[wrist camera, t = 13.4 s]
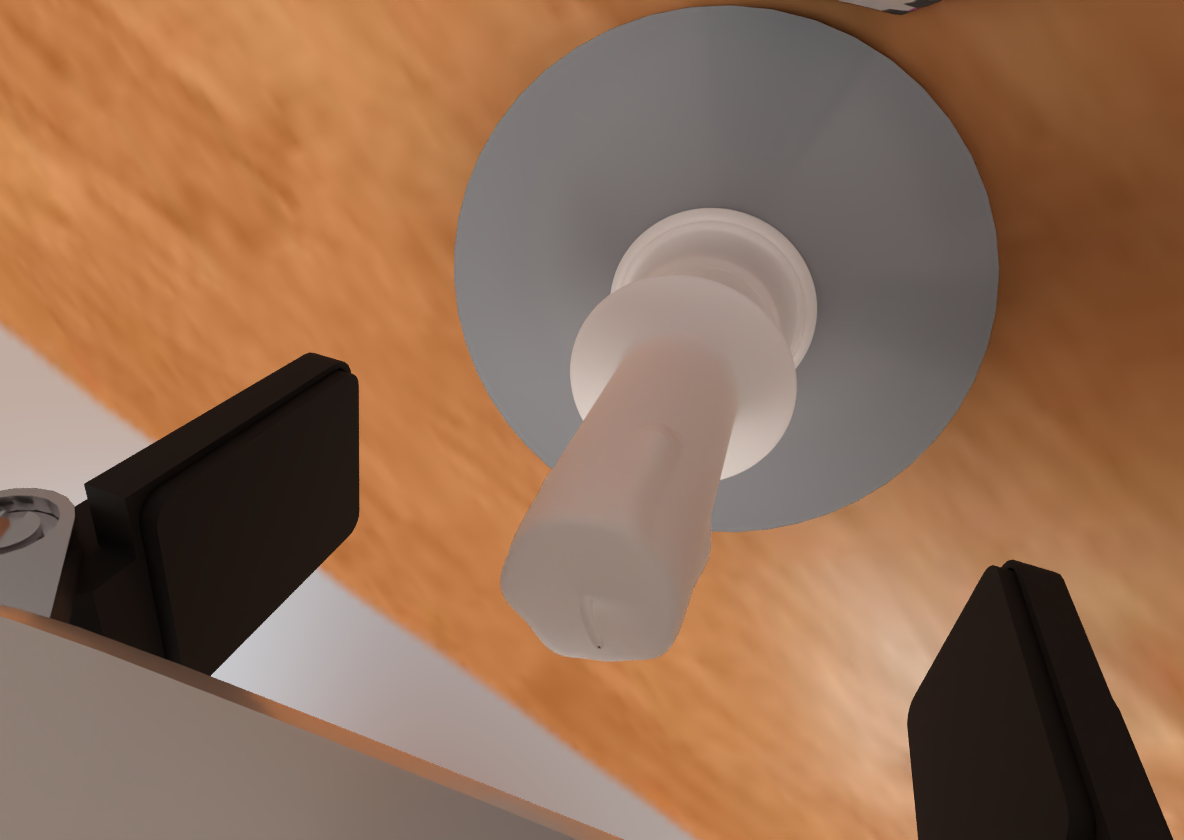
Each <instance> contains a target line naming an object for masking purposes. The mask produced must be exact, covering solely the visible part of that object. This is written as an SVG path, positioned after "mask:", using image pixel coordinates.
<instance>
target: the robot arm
mask: <svg viewBox="0 0 1184 840" xmlns="http://www.w3.org/2000/svg"><path fill="white" fill-rule="evenodd" d="M84 485H85V490H86V494H87V498H88V499H87V500H85V501H83V502H82V503H80V504H79V505H77V506H75V507H74V505H73V504H72V503H71V502H70V500H69V499H68V498H67V497H66V496H63V495H61V494H59V493H57V492H55V491H50V490H44V489H38V488H14V489H8V490H2V491H0V840H623V839H621V838H618V837H616V836H613V835H611V834H608V833H606V832H603V831H601V830H598V829H596V828H593V827H591V826H588V825H586V824H583V823H581V822H578V821H576V820H573V819H571V818H568V817H566V816H563V815H561V814H558V813H555V812H553V811H551V810H548V809H545V808H543V807H541V806H538V805H536V804H533V803H530V802H528V801H525V800H523V799H521V798H518V797H516V796H513V795H511V794H508V793H505V792H503V791H501V790H498V789H496V788H493V787H490V786H488V785H485V784H483V783H480V782H478V781H475V780H473V779H470V778H468V777H465V776H463V775H460V774H457V773H455V772H453V771H450V770H448V769H445V768H443V767H440V766H438V765H435V764H433V763H430V762H427V761H425V760H422V759H420V758H417V757H415V756H412V755H410V754H407V753H405V752H402V751H399V750H397V749H395V748H392V747H390V746H387V745H385V744H382V743H379V742H377V741H374V740H372V739H369V738H367V737H364V736H362V735H359V734H357V733H354V732H352V731H349V730H346V729H344V728H341V727H339V726H336V725H334V724H331V723H329V722H326V721H323V720H321V719H318V718H316V717H313V716H310V715H308V714H306V713H303V712H300V711H298V710H295V709H292V708H290V707H288V706H285V705H282V704H280V703H277V702H274V701H272V700H270V699H267V698H265V697H262V696H259V695H257V694H254V693H252V692H249V691H246V690H244V689H242V688H239V687H236V686H234V685H231V684H229V683H226V682H224V681H221V680H218V679H216V678H213V677H211V675H212V674H213V673H214V672H215V671H216V670H217V669H218V668H219V667H220V666H221V665H222V664H223V663H224V662H225V661H226V660H227V659H228V658H229V657H230V656H231V654H233V653H234V651H235V650H236V649H237V648H238V647H239V646H240V645H241V644H242V643H243V642H244V641H245V640H246V639H247V638H248V637H249V636H250V635H251V634H252V633H253V632H254V631H255V630H256V629H257V628H258V627H259V626H260V625H261V624H262V623H263V622H264V621H265V620H266V619H267V618H268V617H269V616H270V615H271V614H272V613H273V612H274V611H275V610H276V609H277V608H278V607H279V606H280V605H281V604H282V603H283V602H284V601H285V600H286V599H287V598H288V597H289V596H290V595H291V594H292V593H293V592H294V591H295V590H296V589H297V588H298V587H299V586H300V585H301V584H302V583H303V582H304V581H305V580H306V579H307V578H308V577H309V576H310V575H311V574H312V573H313V572H314V571H315V570H316V569H317V568H318V567H319V566H320V565H321V564H322V563H323V562H324V561H325V560H326V559H327V558H328V557H329V556H330V555H331V554H332V553H333V552H334V551H335V550H336V549H337V548H338V547H339V546H340V545H341V544H342V542H343V541H344V540H345V539H346V538H347V537H348V536H349V535H350V534H351V533H352V532H353V530H354V528H355V526H356V524H357V521H358V517H359V384H358V379H357V377H356V376H355V375H354V374H351V370H350V368H349V366H348V364H346V363H345V362H343V361H339V360H336V359H333V358H329V357H326V356H322V355H319V354H316V353H307V354H304V355H303V356H301V357H299V358H298V359H296V360H294V361H293V362H291V363H289V364H287V365H286V366H284V367H282V368H281V369H279V370H277V371H276V372H274V373H272V374H270V375H269V376H267V377H265V378H264V379H262V380H260V381H258V382H257V383H255V384H253V385H252V386H250V387H248V388H247V389H245V390H243V391H241V392H240V393H238V394H236V395H235V396H233V397H231V398H230V399H228V400H226V401H224V402H223V403H221V404H219V405H218V406H216V407H214V408H213V409H211V410H209V411H207V412H206V413H204V414H202V415H201V416H199V417H197V418H196V419H194V420H192V421H190V422H189V423H187V424H185V425H184V426H182V427H180V428H178V429H177V430H175V431H173V432H172V433H170V434H168V435H167V436H165V437H163V438H161V439H160V440H158V441H156V442H155V443H153V444H151V445H150V446H148V447H146V448H145V449H143V450H141V451H139V452H138V453H136V454H135V455H133V456H131V457H129V458H128V459H126V460H124V461H123V462H121V463H119V464H117V465H116V466H114V467H112V468H110V469H109V470H107V471H105V472H104V473H102V474H100V475H99V476H97V477H95V478H93V479H92V480H90V481H88V482H87V483H85V484H84ZM907 726H908V738H909V748H910V759H911V769H912V779H913V790H914V800H915V810H916V821H917V831H918V840H1173V838H1172V835H1171V833H1170V830H1169V828H1168V826H1167V823H1166V821H1165V818H1164V816H1163V814H1162V811H1161V809H1160V806H1159V804H1158V802H1157V799H1156V797H1155V794H1154V792H1153V789H1152V787H1151V785H1150V782H1149V780H1148V777H1147V775H1146V773H1145V770H1144V768H1143V765H1142V763H1141V761H1140V758H1139V756H1138V753H1137V751H1136V748H1135V746H1134V744H1133V741H1132V739H1131V736H1130V734H1129V732H1128V729H1127V727H1126V724H1125V722H1124V720H1123V717H1122V715H1121V712H1120V710H1119V708H1118V707H1117V705H1116V703H1115V702H1114V700H1113V698H1112V696H1111V694H1110V691H1109V689H1108V686H1107V684H1106V681H1105V679H1104V677H1103V674H1102V672H1101V669H1100V667H1099V664H1098V662H1097V660H1096V657H1095V655H1094V652H1093V650H1092V647H1091V645H1090V643H1089V640H1088V638H1087V635H1086V633H1085V630H1084V628H1083V625H1082V623H1081V621H1080V618H1079V616H1078V613H1077V611H1076V608H1075V606H1074V604H1073V601H1072V599H1071V596H1070V594H1069V591H1068V589H1067V587H1066V584H1065V582H1064V580H1063V578H1062V576H1061V575H1060V574H1058V573H1056V572H1053V571H1049V570H1046V569H1043V568H1039V567H1036V566H1032V565H1029V564H1026V563H1022V562H1019V561H1016V560H1009V561H1007V562H1006V563H1005V564H1004V565H1003V566H1002V567H997V566H994V565H992V566H989V567H988V568H987V569H986V571H985V572H984V573H983V575H982V577H981V579H980V581H979V582H978V584H977V586H976V588H975V589H974V591H973V593H972V595H971V597H970V598H969V600H968V602H967V604H966V605H965V607H964V609H963V611H962V612H961V614H960V616H959V618H958V620H957V621H956V623H955V625H954V627H953V628H952V630H951V632H950V634H949V636H948V637H947V639H946V641H945V643H944V644H943V646H942V648H941V650H940V652H939V653H938V655H937V657H936V659H935V660H934V662H933V664H932V666H931V668H930V669H929V671H928V673H927V675H926V676H925V678H924V680H923V682H922V683H921V685H920V687H919V689H918V691H917V692H916V694H915V696H914V698H913V700H912V702H911V705H910V708H909V713H908V721H907Z"/></svg>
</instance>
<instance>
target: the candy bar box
mask: <svg viewBox="0 0 1184 840" xmlns="http://www.w3.org/2000/svg"><path fill="white" fill-rule="evenodd" d="M839 1H843V2H847V3H852V4H856V5H860V6H864V7H868V8H872V9H876V10H880V11H884V12H888V13H892V14H898V15H901V14H906V13H908V12H911V11H914V10H916V9H919V8H922V7H926V6H929V5H932V4H934V3H937V2H940V1H942V0H839Z"/></svg>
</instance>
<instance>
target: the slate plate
mask: <svg viewBox="0 0 1184 840" xmlns="http://www.w3.org/2000/svg"><path fill="white" fill-rule="evenodd" d="M699 208H724V209H731V210H736V211H740V212H743V213H746V214H749V215H752V216H754V217H756V218H759V219H761V220H762V221H764V222H766V223H768V224H769V225H771V226H772V227H774V228H775V229H777V230H778V231H779V232H780V233H782V234H783V235H784V236H785V237H786V238H787V239H788V240H789V241H790V242H791V243H792V244H793V245H794V247H795V248H796V249H797V250H798V252H799V253H800V255H801V256H802V258H803V259H804V261H805V263H806V265H807V267H808V269H809V271H810V274H811V277H812V279H813V283H814V287H815V291H816V298H817V320H816V326H815V331H814V335H813V338H812V341H811V344H810V346H809V348H808V350H807V352H806V354H805V356H804V358H803V359H802V361H801V362H800V364H799V365H798V367H797V368H796V369H795V370H796V377H797V395H796V402H795V407H794V411H793V414H792V417H791V420H790V423H789V425H788V427H787V429H786V431H785V433H784V434H783V436H782V438H781V439H780V440H779V442H778V443H777V444H776V446H775V447H774V448H773V449H772V450H771V451H770V452H769V453H768V454H767V455H766V456H765V457H764V458H763V459H762V460H760V461H759V462H758V463H756V464H755V465H753V466H752V467H750V468H749V469H747V470H745V471H743V472H741V473H739V474H736V475H734V476H731V477H729V478H725V479H722V480H720V482H719V486H718V490H717V494H716V498H715V502H714V506H713V510H712V514H711V531H719V532H743V531H755V530H767V529H772V528H777V527H783V526H788V525H793V524H798V523H801V522H804V521H807V520H811V519H814V518H817V517H820V516H823V515H826V514H829V513H831V512H834V511H836V510H838V509H840V508H843V507H845V506H847V505H849V504H852V503H854V502H856V501H858V500H860V499H861V498H863V497H865V496H866V495H868V494H870V493H871V492H873V491H875V490H876V489H878V488H880V487H881V486H883V485H885V484H886V483H888V482H889V481H890V480H891V479H893V478H894V477H895V476H896V475H898V474H899V473H900V472H902V471H903V470H904V469H905V468H907V467H908V466H909V465H910V464H912V463H913V462H914V461H915V460H916V459H917V458H918V457H919V456H920V455H921V454H922V453H923V452H924V451H925V450H926V449H927V448H928V447H929V446H930V445H931V444H932V443H933V442H934V441H935V440H936V438H937V437H938V436H939V435H940V433H941V432H942V431H943V429H944V428H945V427H946V425H947V424H948V423H949V421H950V420H951V419H952V417H953V416H954V415H955V413H956V412H957V411H958V409H959V407H960V405H961V403H962V402H963V400H964V398H965V396H966V395H967V393H968V391H969V389H970V387H971V386H972V384H973V382H974V380H975V378H976V375H977V373H978V370H979V368H980V365H981V362H982V360H983V357H984V355H985V352H986V349H987V347H988V343H989V339H990V335H991V330H992V326H993V321H994V317H995V313H996V306H997V293H998V280H999V262H998V249H997V236H996V229H995V225H994V221H993V216H992V212H991V208H990V204H989V199H988V195H987V192H986V189H985V187H984V185H983V182H982V180H981V177H980V175H979V172H978V170H977V167H976V165H975V162H974V160H973V157H972V155H971V154H970V152H969V150H968V149H967V147H966V145H965V144H964V142H963V140H962V139H961V137H960V135H959V134H958V132H957V130H956V129H955V127H954V125H953V124H952V122H951V120H950V119H949V118H948V117H947V116H946V114H945V113H944V112H943V111H942V110H941V108H940V107H939V106H938V105H937V104H936V102H935V101H934V100H933V99H932V98H931V97H930V95H929V94H928V93H927V92H926V91H925V89H924V88H923V87H922V86H920V85H919V84H918V83H917V82H916V81H915V80H914V79H912V78H911V77H910V76H909V75H908V74H907V73H905V72H904V71H903V70H902V69H901V68H900V67H899V66H897V65H896V64H895V63H894V62H893V61H892V60H890V59H889V58H887V57H886V56H884V55H882V54H881V53H879V52H878V51H876V50H874V49H873V48H871V47H870V46H868V45H866V44H865V43H863V42H862V41H860V40H858V39H857V38H855V37H853V36H851V35H848V34H846V33H844V32H841V31H839V30H837V29H834V28H832V27H830V26H827V25H825V24H823V23H820V22H818V21H816V20H812V19H808V18H805V17H801V16H797V15H793V14H789V13H785V12H781V11H777V10H773V9H763V8H753V7H744V6H734V5H726V6H706V7H688V8H683V9H678V10H673V11H668V12H663V13H659V14H654V15H649V16H646V17H643V18H640V19H638V20H635V21H632V22H629V23H626V24H624V25H621V26H618V27H615V28H612V29H610V30H608V31H606V32H604V33H603V34H601V35H599V36H597V37H595V38H593V39H591V40H589V41H588V42H586V43H584V44H582V45H580V46H578V47H576V48H575V49H574V50H572V51H571V52H570V53H568V54H567V55H565V56H564V57H563V58H561V59H560V60H559V61H557V62H556V63H555V64H553V65H552V66H550V67H549V68H548V69H546V70H545V71H544V72H543V73H542V74H541V75H540V76H539V77H538V78H537V79H536V80H535V81H534V82H533V83H532V84H531V85H530V86H529V87H528V88H527V89H526V90H525V91H524V92H523V93H522V94H521V95H520V96H519V97H518V98H517V99H516V101H515V102H514V103H513V105H512V106H511V107H510V108H509V110H508V111H507V112H506V114H505V115H504V116H503V117H502V119H501V120H500V121H499V123H498V124H497V126H496V127H495V129H494V131H493V132H492V134H491V136H490V138H489V139H488V141H487V143H486V145H485V146H484V148H483V150H482V152H481V153H480V155H479V158H478V160H477V163H476V165H475V168H474V170H473V173H472V175H471V177H470V180H469V182H468V185H467V188H466V192H465V196H464V199H463V203H462V207H461V211H460V215H459V219H458V227H457V235H456V243H455V273H454V282H455V290H456V298H457V306H458V314H459V318H460V322H461V326H462V330H463V334H464V338H465V342H466V345H467V347H468V350H469V353H470V355H471V358H472V361H473V363H474V366H475V369H476V371H477V373H478V375H479V377H480V379H481V381H482V383H483V385H484V387H485V389H486V391H487V393H488V395H489V396H490V398H491V400H492V401H493V403H494V404H495V406H496V407H497V409H498V410H499V412H500V413H501V415H502V416H503V418H504V419H505V421H506V422H507V423H508V424H509V426H510V427H511V428H512V429H513V430H514V432H515V433H516V434H517V435H518V436H519V438H520V439H521V440H522V441H523V442H524V444H525V445H526V446H527V447H528V448H530V449H531V450H532V451H533V452H534V453H535V454H536V455H537V456H538V457H539V458H540V459H541V460H542V461H543V462H544V463H545V464H546V465H547V466H549V467H550V468H551V469H553V468H554V466H555V465H556V463H557V462H558V460H559V458H560V457H561V455H562V454H563V452H564V451H565V449H566V447H567V446H568V444H569V443H570V441H571V439H572V438H573V436H574V435H575V433H576V432H577V430H578V428H579V427H580V425H581V424H582V422H583V420H582V418H581V416H580V414H579V412H578V409H577V407H576V404H575V401H574V397H573V393H572V388H571V381H570V362H571V355H572V350H573V346H574V343H575V340H576V337H577V335H578V333H579V330H580V328H581V326H582V325H583V323H584V321H585V320H586V318H587V317H588V316H589V314H590V313H591V312H592V311H593V309H594V308H595V307H596V306H597V305H598V304H599V303H600V302H601V301H602V300H604V299H605V298H606V297H607V296H609V295H610V293H611V287H612V282H613V279H614V275H615V273H616V270H617V268H618V265H619V263H620V261H621V259H622V258H623V256H624V254H625V253H626V251H627V250H628V248H629V247H630V246H631V245H632V243H633V242H634V241H635V240H636V239H637V238H638V237H639V236H640V235H641V234H642V233H643V232H645V231H646V230H647V229H648V228H650V227H651V226H653V225H654V224H656V223H657V222H659V221H661V220H663V219H665V218H667V217H669V216H671V215H674V214H677V213H680V212H683V211H687V210H692V209H699Z"/></svg>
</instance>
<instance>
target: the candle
mask: <svg viewBox="0 0 1184 840" xmlns="http://www.w3.org/2000/svg"><path fill="white" fill-rule="evenodd" d="M816 320H817V298H816V291H815V287H814V283H813V279H812V277H811V274H810V271H809V269H808V267H807V265H806V263H805V261H804V259H803V258H802V256H801V255H800V253H799V252H798V250H797V249H796V248H795V247H794V245H793V244H792V243H791V242H790V241H789V240H788V239H787V238H786V237H785V236H784V235H783V234H782V233H780V232H779V231H778V230H777V229H775V228H774V227H772V226H771V225H769V224H768V223H766V222H764V221H762V220H761V219H759V218H756V217H754V216H752V215H749V214H746V213H743V212H740V211H736V210H731V209H724V208H699V209H692V210H687V211H683V212H680V213H677V214H674V215H671V216H669V217H667V218H665V219H663V220H661V221H659V222H657V223H656V224H654V225H653V226H651V227H650V228H648V229H647V230H646V231H645V232H643V233H642V234H641V235H640V236H639V237H638V238H637V239H636V240H635V241H634V242H633V243H632V245H631V246H630V247H629V248H628V250H627V251H626V253H625V254H624V256H623V258H622V259H621V261H620V263H619V265H618V268H617V270H616V273H615V275H614V279H613V282H612V287H611V293H610V295H609V296H607V297H606V298H605V299H604V300H602V301H601V302H600V303H599V304H598V305H597V306H596V307H595V308H594V309H593V311H592V312H591V313H590V314H589V316H588V317H587V318H586V320H585V321H584V323H583V325H582V326H581V328H580V330H579V333H578V335H577V337H576V340H575V343H574V346H573V350H572V355H571V362H570V381H571V388H572V393H573V397H574V401H575V404H576V407H577V409H578V412H579V414H580V416H581V418H582V420H583V422H582V424H581V425H580V427H579V428H578V430H577V432H576V433H575V435H574V436H573V438H572V439H571V441H570V443H569V444H568V446H567V447H566V449H565V451H564V452H563V454H562V455H561V457H560V458H559V460H558V462H557V463H556V465H555V466H554V468H553V469H552V470H551V471H550V472H549V474H548V475H547V477H546V479H545V480H544V482H543V484H542V487H541V489H540V491H539V493H538V494H537V496H536V498H535V499H534V501H533V503H532V504H531V506H530V508H529V510H528V511H527V513H526V515H525V517H524V519H523V520H522V522H521V524H520V526H519V528H518V530H517V532H516V534H515V536H514V539H513V541H512V544H511V547H510V550H509V553H508V555H507V558H506V560H505V562H504V565H503V568H502V572H501V590H502V593H503V596H504V598H505V599H506V601H507V602H508V603H509V605H510V606H511V607H512V608H513V609H514V610H515V611H516V612H517V613H518V614H519V615H520V616H521V617H522V618H523V619H524V620H525V621H526V622H527V624H528V625H529V626H530V627H531V628H532V630H533V631H534V632H535V634H536V635H537V636H538V638H539V639H540V640H541V641H542V643H543V644H544V645H545V646H546V647H547V648H549V649H550V650H551V651H553V652H555V653H557V654H559V655H562V656H566V657H573V658H585V659H592V660H598V661H626V660H646V659H653V658H657V657H659V656H661V655H663V654H664V653H666V652H667V651H668V650H669V648H670V647H671V646H672V644H673V643H674V641H675V639H676V637H677V635H678V633H679V631H680V628H681V626H682V623H683V620H684V617H685V614H686V610H687V607H688V604H689V600H690V597H691V594H692V591H693V588H694V586H695V584H696V582H697V581H698V579H699V577H700V575H701V573H702V572H703V570H704V568H705V565H706V563H707V561H708V558H709V554H710V550H711V514H712V510H713V506H714V502H715V498H716V494H717V490H718V486H719V482H720V480H722V479H725V478H729V477H731V476H734V475H736V474H739V473H741V472H743V471H745V470H747V469H749V468H750V467H752V466H753V465H755V464H756V463H758V462H759V461H760V460H762V459H763V458H764V457H765V456H766V455H767V454H768V453H769V452H770V451H771V450H772V449H773V448H774V447H775V446H776V444H777V443H778V442H779V440H780V439H781V438H782V436H783V434H784V433H785V431H786V429H787V427H788V425H789V423H790V420H791V417H792V414H793V411H794V407H795V402H796V395H797V377H796V370H795V369H796V368H797V367H798V365H799V364H800V362H801V361H802V359H803V358H804V356H805V354H806V352H807V350H808V348H809V346H810V344H811V341H812V338H813V335H814V331H815V326H816Z"/></svg>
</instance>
